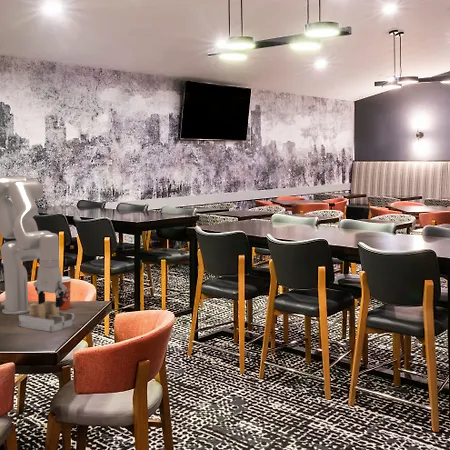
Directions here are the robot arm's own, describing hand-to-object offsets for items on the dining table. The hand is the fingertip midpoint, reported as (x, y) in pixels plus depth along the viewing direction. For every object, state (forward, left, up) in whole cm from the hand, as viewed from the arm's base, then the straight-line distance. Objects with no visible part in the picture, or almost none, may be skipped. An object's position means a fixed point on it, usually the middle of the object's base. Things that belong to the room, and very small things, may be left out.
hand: (50, 304), depth 245 cm
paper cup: (-14, +22, -8) cm, 27 cm away
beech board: (+1, 0, -8) cm, 8 cm away
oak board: (-1, -6, -8) cm, 10 cm away
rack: (+1, -3, -8) cm, 8 cm away
